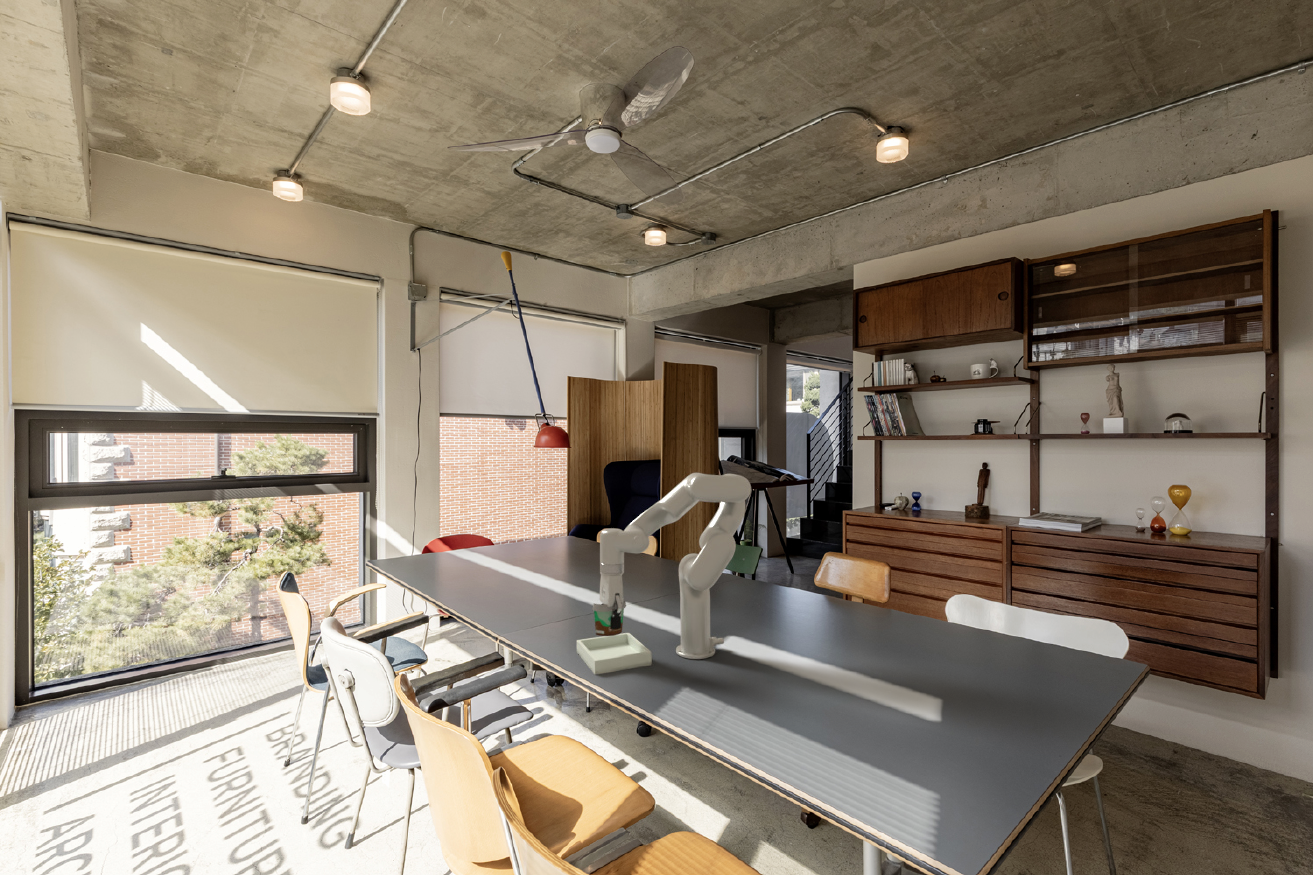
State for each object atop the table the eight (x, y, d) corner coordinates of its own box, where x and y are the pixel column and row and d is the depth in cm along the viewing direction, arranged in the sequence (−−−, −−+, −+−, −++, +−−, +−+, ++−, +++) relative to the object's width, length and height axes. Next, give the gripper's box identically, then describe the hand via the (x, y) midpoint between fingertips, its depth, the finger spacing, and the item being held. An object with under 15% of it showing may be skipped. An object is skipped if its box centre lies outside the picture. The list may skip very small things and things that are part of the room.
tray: (628, 644, 203) (628, 632, 203) (651, 664, 184) (651, 651, 184) (576, 652, 196) (576, 640, 196) (594, 674, 177) (594, 660, 177)
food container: (606, 640, 183) (606, 607, 183) (592, 635, 187) (592, 603, 187) (634, 630, 192) (634, 599, 192) (620, 626, 196) (620, 595, 196)
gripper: (592, 564, 197) (592, 619, 197) (609, 575, 181) (609, 635, 181) (614, 562, 200) (614, 616, 200) (632, 573, 184) (632, 632, 184)
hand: (612, 624), depth 190 cm, fingers closed on food container, 6 cm apart
